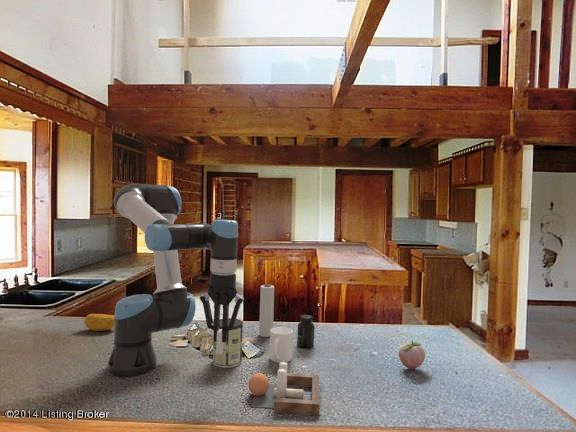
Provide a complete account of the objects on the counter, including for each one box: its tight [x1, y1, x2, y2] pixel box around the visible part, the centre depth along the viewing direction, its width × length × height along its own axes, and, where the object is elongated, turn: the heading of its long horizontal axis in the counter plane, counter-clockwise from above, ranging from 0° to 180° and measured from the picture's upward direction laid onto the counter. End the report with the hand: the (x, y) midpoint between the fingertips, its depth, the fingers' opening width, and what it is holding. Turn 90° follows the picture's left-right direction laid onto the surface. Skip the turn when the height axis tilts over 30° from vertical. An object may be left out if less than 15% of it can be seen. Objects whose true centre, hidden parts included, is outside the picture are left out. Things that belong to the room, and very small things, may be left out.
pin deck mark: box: [250, 383, 298, 410], centre depth 109 cm, size 12×14×1 cm
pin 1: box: [278, 362, 288, 388], centre depth 111 cm, size 2×2×8 cm
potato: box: [83, 313, 115, 332], centre depth 161 cm, size 7×14×7 cm, turn 84°
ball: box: [248, 372, 270, 396], centre depth 109 cm, size 6×6×6 cm
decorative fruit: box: [398, 340, 426, 371], centre depth 130 cm, size 9×8×10 cm
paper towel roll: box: [258, 284, 275, 338], centre depth 162 cm, size 7×6×21 cm
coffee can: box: [212, 317, 244, 369], centre depth 132 cm, size 10×10×14 cm
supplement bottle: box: [296, 314, 316, 350], centre depth 150 cm, size 7×7×12 cm
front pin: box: [274, 388, 305, 400], centre depth 108 cm, size 2×2×8 cm
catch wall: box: [273, 372, 321, 417], centre depth 108 cm, size 12×18×3 cm, turn 176°
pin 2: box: [276, 368, 286, 398], centre depth 106 cm, size 2×2×8 cm
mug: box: [269, 326, 294, 364], centre depth 135 cm, size 12×8×10 cm
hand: (219, 352), depth 110 cm, fingers closed
